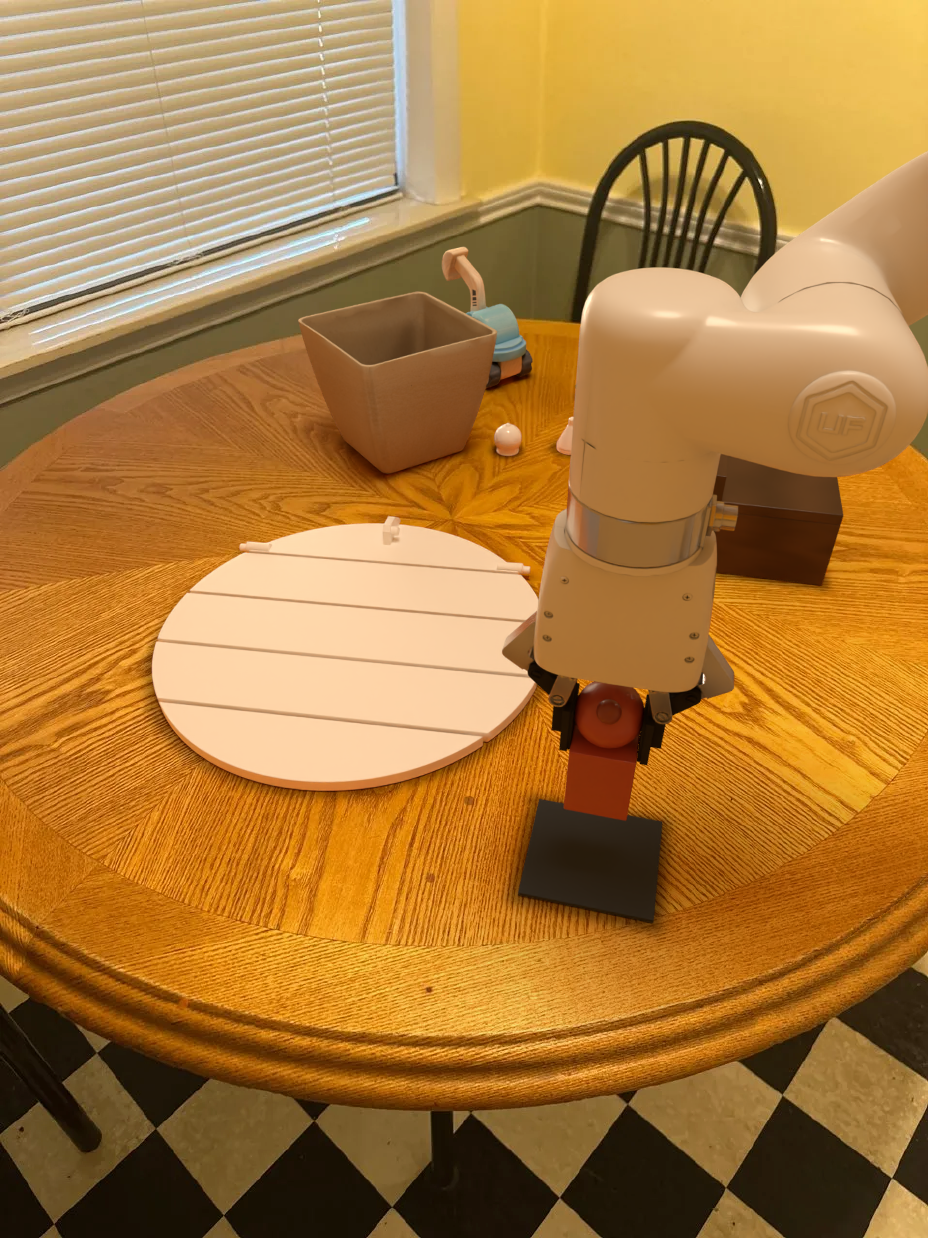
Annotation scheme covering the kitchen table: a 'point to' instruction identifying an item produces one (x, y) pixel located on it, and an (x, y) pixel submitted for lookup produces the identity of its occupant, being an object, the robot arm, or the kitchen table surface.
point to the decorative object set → (511, 438)
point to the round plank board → (345, 656)
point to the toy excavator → (490, 320)
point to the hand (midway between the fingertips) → (605, 740)
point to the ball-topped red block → (604, 750)
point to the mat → (593, 862)
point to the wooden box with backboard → (777, 522)
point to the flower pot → (401, 376)
